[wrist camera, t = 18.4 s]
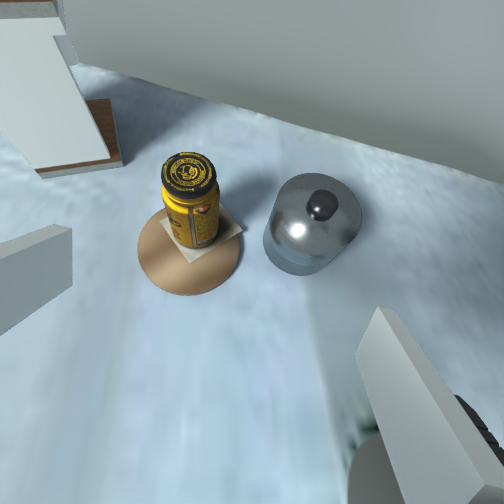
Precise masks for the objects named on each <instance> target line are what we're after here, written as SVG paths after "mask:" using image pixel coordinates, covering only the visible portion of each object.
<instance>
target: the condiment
mask: <svg viewBox="0 0 504 504" xmlns="http://www.w3.org/2000/svg"><path fill="white" fill-rule="evenodd" d="M216 177H217V175H216V171H215V168H214V166H213V164H212V163H211V162H210V160H209V159H208V158H206V157H205V156H203V155H201V154H198V153H195V152H181V153H178V154H176V155H173V156H172V157H170V158H168V160H167V161H166V162H165V163H164V164H163V167H162V171H161V179H162V183H163V185H162V197H163V202H164V204H165V208H166V211H167V216H168V217H167V218H165V219H163V220H160V223H161V224H162V226H163V227H164V229H165V230H166V231H167V233H168V234H169V236H170V237H171V239H172V240H173V241H174V243H175V244H176V246H177V247H178V248H179V250H180V251H181V253H182V254H183V255H184V257H185V258H186V260H187V261H188V262H189V263H191V262H193V261H194V260H196V259H198V258H199V257H201V256H203V255H204V254H206V253H208V252H209V251H211V250H212V249H214V248H215V247H217V246H219V245H220V244H221V243H223V242H225V241H227V240H228V239H230V238H232V237H233V236H235V235H236V234H238V233H239V232H241V231H243V230H242V228H241V227H240V226H239V225H238V224H237V223H236V221H235V220H234V219H233V218H232V216H231V215H230V214H229V213H228V211H227V210H226V209H225V208H224V206H223V205H222V204H221V202H220V201H219V198H220V190H219V185H218V182H217V181H216Z"/></svg>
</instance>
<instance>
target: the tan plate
mask: <svg viewBox="0 0 504 504" xmlns="http://www.w3.org/2000/svg"><path fill="white" fill-rule="evenodd" d="M167 217H168V216H167V211H166V208H164V209H162V210H160V211H159V212H157V213H156V214H155V215H153V216H152V217H151V218H150V219H149V220H148V222H147V223H146V224H145V226H144V227H143V229H142V231H141V233H140V236H139V240H138V248H137V251H138V258H139V262H140V264H141V267H142V269H143V270H144V272H145V274H146V275H147V276H148V278H149V279H150V280H151V281H152V282H153V283H154V284H155V285H157V286H158V287H160V288H161V289H163V290H165V291H167V292H170V293H173V294H177V295H186V296H189V295H198V294H203V293H206V292H208V291H211V290H213V289H215V288H216V287H218V286H219V285H221V284H222V283H223V282H224V281H225V280H226V279H227V278H228V277H229V276H230V274H231V273H232V271H233V270H234V268H235V266H236V263H237V260H238V255H239V238H238V234H236V235H235V236H233V237H232V238H230V239H228V240H227V241H225V242H223V243H221V244H220V245H219V246H217V247H215V248H214V249H212V250H211V251H209V252H208V253H206V254H204V255H203V256H201V257H199V258H198V259H196V260H194V261H193V262H191V263H189V262H188V261H187V260H186V258H185V257H184V255H183V254H182V253H181V251H180V250H179V248H178V247H177V246H176V244H175V243H174V241H173V240H172V239H171V237H170V236H169V234H168V233H167V231H166V230H165V229H164V227H163V226H162V224H161V223H160V220H163V219H165V218H167Z"/></svg>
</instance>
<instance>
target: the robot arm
mask: <svg viewBox="0 0 504 504" xmlns="http://www.w3.org/2000/svg"><path fill="white" fill-rule="evenodd" d="M71 286H72V228H68V227H64V226H60V225H56V224H53V225H50V226H47V227H45V228H42V229H39V230H37V231H34V232H31V233H28V234H26V235H23V236H20V237H18V238H15V239H12V240H10V241H7V242H4V243H1V244H0V336H1V335H2V334H4V333H5V332H7V331H8V330H9V329H11V328H12V327H14V326H15V325H17V324H18V323H19V322H21V321H22V320H24V319H25V318H27V317H28V316H29V315H31V314H32V313H34V312H35V311H37V310H38V309H39V308H41V307H42V306H44V305H45V304H47V303H48V302H49V301H51V300H52V299H54V298H55V297H57V296H58V295H59V294H61V293H62V292H64V291H65V290H67V289H68V288H69V287H71ZM354 358H355V361H356V364H357V367H358V370H359V373H360V376H361V378H362V381H363V384H364V387H365V390H366V393H367V396H368V398H369V401H370V404H371V407H372V410H373V413H374V416H375V418H376V421H377V424H378V427H379V430H380V433H381V435H382V438H383V441H384V444H385V447H386V450H387V452H388V455H389V458H390V461H391V464H392V467H393V470H394V473H395V476H396V478H397V481H398V484H399V487H400V489H401V493H402V496H403V498H404V501H405V504H504V450H503V448H502V447H499V443H498V442H497V440H496V439H495V437H494V436H493V435H492V433H491V432H488V428H487V427H486V425H485V424H484V422H483V421H482V420H481V418H480V417H479V416H478V414H477V413H476V412H475V411H474V410H473V409H472V408H471V407H470V406H469V405H468V404H467V403H466V402H465V401H464V400H463V399H462V398H461V397H460V396H458V395H454V394H453V393H452V392H451V390H450V389H449V387H448V386H447V384H446V383H445V381H444V380H443V379H442V377H441V376H440V374H439V373H438V371H437V370H436V368H435V367H434V366H433V364H432V363H431V361H430V360H429V358H428V357H427V355H426V354H425V353H424V351H423V350H422V348H421V347H420V345H419V344H418V342H417V341H416V340H415V338H414V337H413V335H412V334H411V332H410V331H409V329H408V328H407V326H406V325H405V324H404V322H403V321H402V319H401V318H400V316H399V315H398V313H397V312H396V311H395V310H391V309H387V308H383V307H379V306H378V307H377V309H376V311H375V313H374V315H373V317H372V319H371V321H370V323H369V326H368V328H367V330H366V332H365V334H364V336H363V338H362V340H361V342H360V344H359V347H358V349H357V351H356V353H355V355H354Z"/></svg>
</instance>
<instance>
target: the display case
mask: <svg viewBox="0 0 504 504" xmlns="http://www.w3.org/2000/svg"><path fill="white" fill-rule="evenodd" d="M78 63H79V59H78V57H77V55H76V52H75V50H74V47H73V45H72V43H71V41H70V38H69V36H68V33H67V31H66V25H65V17H64V8H63V0H0V131H1V132H2V133H3V135H4V136H5V137H6V138H7V139H8V140H9V141H10V143H11V144H12V145H13V146H14V147H15V148H16V149H17V150H18V152H19V153H20V154H21V155H22V156H23V157H24V158H25V160H26V161H27V162H28V163H29V164H30V165H31V166H32V168H33V169H34V170H35V171H36V172H37V173H38V174H39V175H40V177H41V178H42V179H44V178H51V177H58V176H64V175H71V174H78V173H84V172H91V171H98V170H105V169H111V168H118V167H124V166H123V161H122V155H121V149H120V144H119V138H118V133H117V127H116V121H115V116H114V110H113V107H112V105H111V102H110V99H99V100H89V101H85V99H84V97H83V95H82V93H81V91H80V89H79V87H78V85H77V82H76V80H75V78H74V76H73V74H72V72H71V70H70V67H69V66H72V65H76V64H78Z"/></svg>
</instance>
